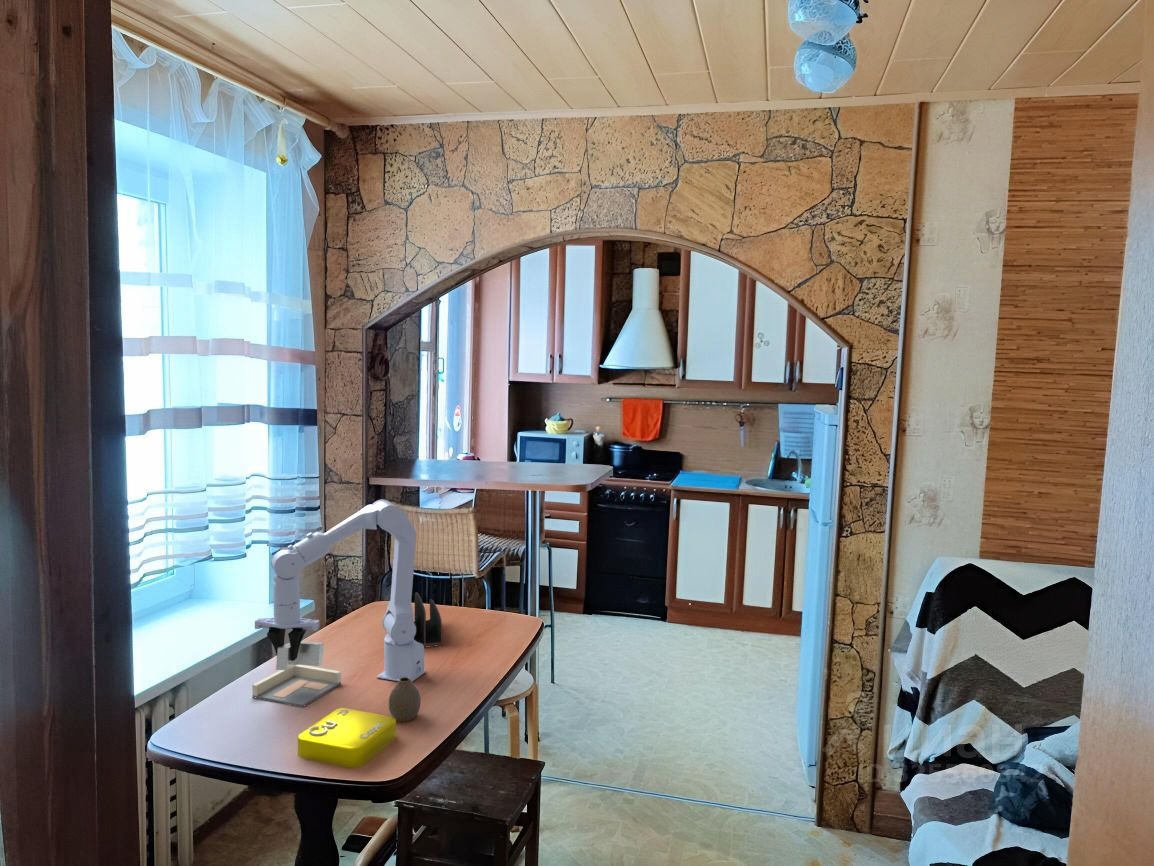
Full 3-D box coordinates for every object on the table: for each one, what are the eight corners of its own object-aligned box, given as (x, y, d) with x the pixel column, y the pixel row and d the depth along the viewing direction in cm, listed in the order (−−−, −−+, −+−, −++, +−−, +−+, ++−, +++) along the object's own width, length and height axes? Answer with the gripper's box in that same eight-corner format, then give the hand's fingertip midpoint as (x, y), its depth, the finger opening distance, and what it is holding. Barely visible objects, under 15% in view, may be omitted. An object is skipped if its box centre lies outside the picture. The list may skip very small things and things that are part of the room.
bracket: (307, 671, 177) (309, 649, 178) (275, 669, 178) (277, 647, 178) (322, 663, 186) (323, 642, 187) (291, 661, 187) (293, 640, 187)
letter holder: (406, 650, 211) (406, 599, 210) (398, 626, 230) (398, 580, 229) (442, 646, 214) (442, 596, 213) (431, 623, 233) (432, 577, 232)
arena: (340, 683, 188) (340, 671, 187) (302, 707, 174) (302, 694, 174) (293, 675, 192) (293, 663, 192) (252, 697, 179) (252, 684, 179)
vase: (393, 727, 166) (393, 687, 165) (385, 714, 172) (385, 676, 171) (424, 721, 169) (424, 682, 168) (415, 708, 175) (415, 671, 174)
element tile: (358, 772, 148) (358, 748, 148) (293, 758, 153) (292, 734, 152) (400, 736, 162) (400, 714, 162) (339, 725, 167) (339, 703, 167)
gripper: (323, 597, 183) (324, 653, 184) (263, 596, 184) (264, 651, 185) (312, 607, 176) (313, 664, 177) (250, 605, 177) (251, 662, 178)
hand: (287, 658), depth 181 cm, fingers closed on bracket, 2 cm apart
